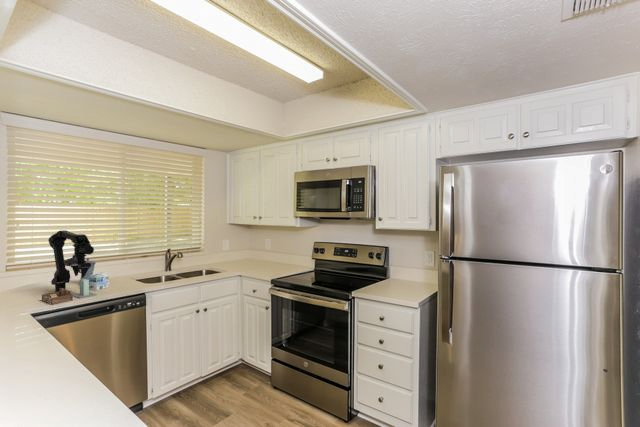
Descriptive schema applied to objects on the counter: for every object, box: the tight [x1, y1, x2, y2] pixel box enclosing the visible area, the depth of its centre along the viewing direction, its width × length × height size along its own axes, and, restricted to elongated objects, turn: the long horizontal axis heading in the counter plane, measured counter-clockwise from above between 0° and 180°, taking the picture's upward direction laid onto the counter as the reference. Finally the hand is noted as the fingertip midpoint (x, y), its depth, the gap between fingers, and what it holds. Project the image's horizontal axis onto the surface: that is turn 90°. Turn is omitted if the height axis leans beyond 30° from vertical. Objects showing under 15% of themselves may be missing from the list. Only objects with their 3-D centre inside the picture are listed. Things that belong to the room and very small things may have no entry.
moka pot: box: [78, 258, 96, 286], centre depth 250 cm, size 10×15×20 cm, turn 89°
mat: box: [73, 291, 98, 299], centre depth 217 cm, size 12×10×1 cm
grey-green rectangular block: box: [79, 279, 90, 296], centre depth 217 cm, size 6×3×10 cm, turn 59°
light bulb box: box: [89, 272, 110, 291], centre depth 237 cm, size 11×7×11 cm, turn 168°
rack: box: [41, 288, 74, 306], centre depth 204 cm, size 16×10×6 cm, turn 58°
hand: (79, 276), depth 217 cm, fingers open, 9 cm apart
